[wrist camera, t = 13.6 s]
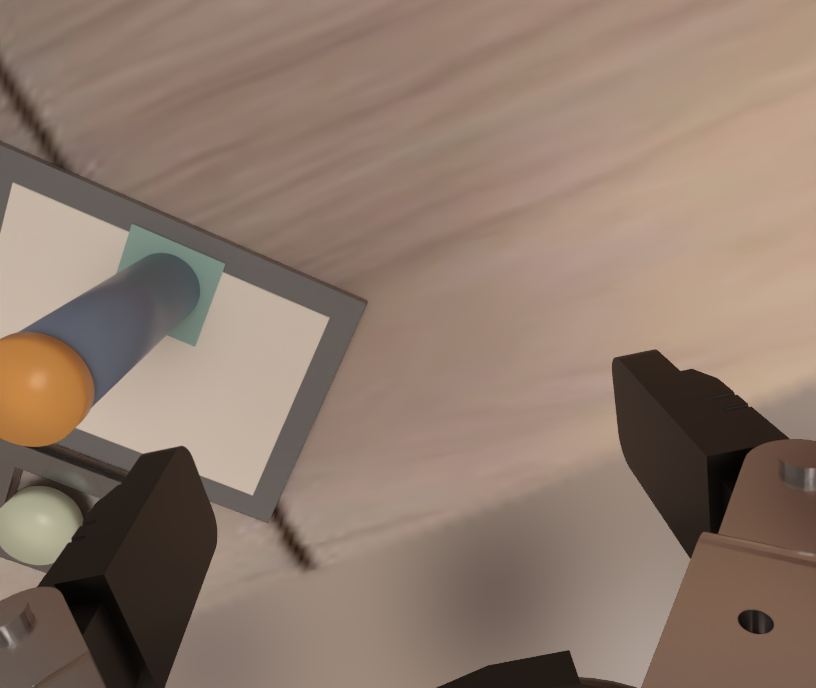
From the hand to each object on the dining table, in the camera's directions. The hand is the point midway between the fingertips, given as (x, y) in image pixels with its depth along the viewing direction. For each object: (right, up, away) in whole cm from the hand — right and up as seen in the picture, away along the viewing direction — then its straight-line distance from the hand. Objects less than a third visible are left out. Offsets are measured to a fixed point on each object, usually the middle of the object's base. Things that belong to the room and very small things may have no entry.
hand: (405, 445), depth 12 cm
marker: (-13, +5, +22) cm, 26 cm away
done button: (-21, -8, +26) cm, 34 cm away
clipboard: (-14, +2, +24) cm, 28 cm away
